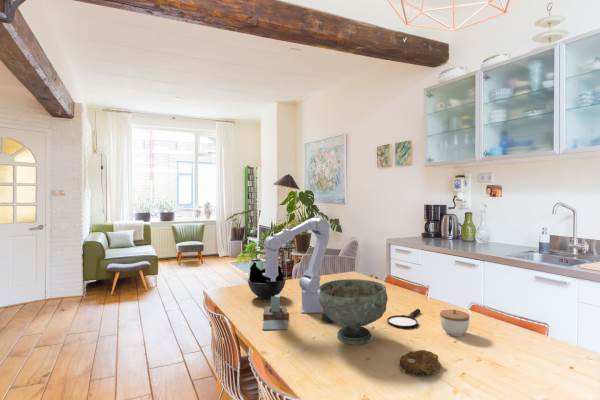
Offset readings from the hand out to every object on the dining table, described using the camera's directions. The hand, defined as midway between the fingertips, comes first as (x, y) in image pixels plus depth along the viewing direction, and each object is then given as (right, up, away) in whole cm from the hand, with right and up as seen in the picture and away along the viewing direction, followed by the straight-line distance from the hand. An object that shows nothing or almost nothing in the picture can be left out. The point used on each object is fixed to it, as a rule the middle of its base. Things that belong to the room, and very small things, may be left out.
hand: (271, 293), depth 158 cm
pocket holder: (+2, -11, +2) cm, 11 cm away
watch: (+26, -11, -4) cm, 29 cm away
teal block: (+2, -11, +2) cm, 11 cm away
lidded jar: (+74, -11, -18) cm, 77 cm away
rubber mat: (+2, -11, -10) cm, 15 cm away
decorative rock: (+51, -12, -46) cm, 70 cm away
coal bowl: (-5, -10, +30) cm, 32 cm away
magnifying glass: (+60, -11, -3) cm, 61 cm away
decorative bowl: (+33, -11, -23) cm, 42 cm away
